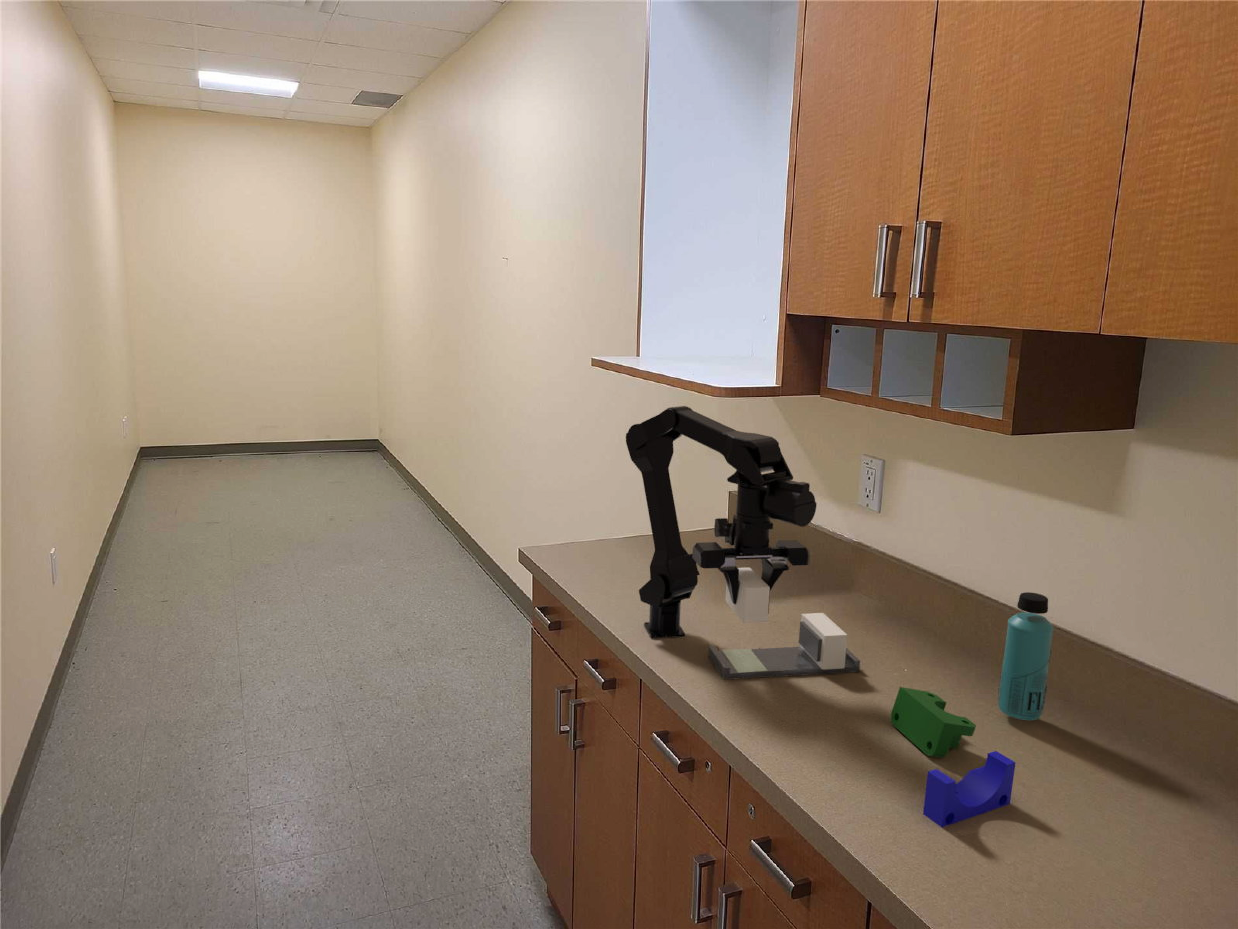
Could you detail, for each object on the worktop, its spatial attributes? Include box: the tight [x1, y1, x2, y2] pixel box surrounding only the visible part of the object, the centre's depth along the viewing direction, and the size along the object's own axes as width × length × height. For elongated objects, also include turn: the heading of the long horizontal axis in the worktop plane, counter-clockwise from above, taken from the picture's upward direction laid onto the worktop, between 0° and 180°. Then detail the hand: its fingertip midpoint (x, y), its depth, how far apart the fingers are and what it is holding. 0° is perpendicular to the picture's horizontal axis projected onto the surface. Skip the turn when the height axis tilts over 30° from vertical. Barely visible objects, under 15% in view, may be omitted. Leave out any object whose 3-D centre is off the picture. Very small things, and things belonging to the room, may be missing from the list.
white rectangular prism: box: [725, 567, 771, 624], centre depth 148 cm, size 4×10×6 cm, turn 11°
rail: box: [707, 645, 861, 680], centre depth 152 cm, size 9×24×2 cm, turn 101°
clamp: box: [890, 686, 977, 759], centre depth 128 cm, size 12×6×9 cm, turn 9°
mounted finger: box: [798, 612, 848, 670], centre depth 152 cm, size 10×5×6 cm, turn 11°
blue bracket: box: [922, 750, 1016, 828], centre depth 111 cm, size 12×4×6 cm, turn 117°
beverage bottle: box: [996, 591, 1054, 721], centre depth 133 cm, size 6×7×20 cm
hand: (747, 602), depth 148 cm, fingers closed on white rectangular prism, 4 cm apart
